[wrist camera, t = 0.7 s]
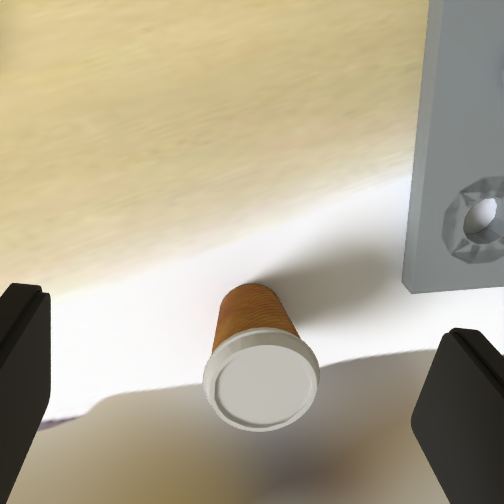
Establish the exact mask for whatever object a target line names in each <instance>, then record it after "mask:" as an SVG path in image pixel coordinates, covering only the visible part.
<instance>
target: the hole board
mask: <svg viewBox="0 0 504 504" xmlns="http://www.w3.org/2000/svg"><path fill="white" fill-rule="evenodd" d="M503 66H504V0H430V3H429V13H428V23H427V33H426V43H425V53H424V63H423V73H422V83H421V93H420V103H419V113H418V123H417V133H416V143H415V153H414V163H413V173H412V183H411V193H410V203H409V213H408V223H407V233H406V243H405V253H404V263H403V273H402V283H403V284H404V285H405V287H406V288H407V289H408V290H409V292H410V293H411V294H416V293H429V292H441V291H454V290H466V289H478V288H491V287H503V286H504V85H503V82H502V69H503ZM487 198H494V199H495V201H496V203H497V209H496V215H495V218H494V219H493V220H492V222H491V223H490V225H489V226H488V227H487V228H485V229H484V230H482V231H480V232H478V233H477V234H466V235H465V233H464V231H463V226H464V219H465V216H466V215H467V213H468V212H469V211H470V209H471V208H472V206H473V205H475V204H477V203H479V202H480V201H482V200H484V199H487Z"/></svg>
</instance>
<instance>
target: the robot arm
mask: <svg viewBox="0 0 504 504" xmlns="http://www.w3.org/2000/svg"><path fill="white" fill-rule="evenodd" d="M50 392H51V299H50V294H49V293H43V292H42V288H41V286H39V285H29V284H20V283H12V284H11V285H10V286H9V287H8V288H7V289H6V291H5V292H4V293H3V295H2V296H1V297H0V504H6V502H7V500H8V497H9V495H10V493H11V490H12V488H13V486H14V483H15V481H16V479H17V476H18V474H19V472H20V469H21V467H22V465H23V462H24V460H25V458H26V455H27V453H28V451H29V448H30V446H31V444H32V441H33V439H34V437H35V434H36V432H37V430H38V427H39V425H40V423H41V420H42V418H43V415H44V413H45V411H46V408H47V406H48V403H49V398H50ZM411 427H412V430H413V433H414V434H415V436H416V438H417V440H418V442H419V444H420V446H421V448H422V450H423V452H424V454H425V456H426V458H427V460H428V461H429V463H430V465H431V467H432V469H433V471H434V473H435V475H436V477H437V479H438V481H439V483H440V485H441V487H442V489H443V490H444V493H445V494H446V496H447V498H448V500H449V502H450V504H504V357H503V356H502V355H501V354H500V353H499V352H498V351H497V350H496V348H495V347H494V346H493V345H492V344H491V343H490V342H489V341H488V340H487V339H486V338H485V336H484V335H483V334H482V333H481V332H480V331H478V330H473V329H463V328H453V329H451V330H450V331H449V333H445V334H444V335H443V337H442V339H441V342H440V344H439V347H438V349H437V352H436V354H435V357H434V360H433V362H432V365H431V367H430V370H429V372H428V375H427V378H426V380H425V383H424V385H423V388H422V390H421V393H420V396H419V398H418V401H417V403H416V406H415V408H414V411H413V414H412V417H411Z"/></svg>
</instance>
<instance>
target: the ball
mask: <svg viewBox="0 0 504 504" xmlns="http://www.w3.org/2000/svg"><path fill="white" fill-rule="evenodd" d="M502 82H503V85H504V66H503V69H502Z"/></svg>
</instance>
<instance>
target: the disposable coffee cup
mask: <svg viewBox="0 0 504 504" xmlns="http://www.w3.org/2000/svg"><path fill="white" fill-rule="evenodd" d="M319 377H320V370H319V364H318V361H317V358H316V356H315V355H314V353H313V351H312V350H311V348H310V347H309V346H308V345H307V344H306V343H305V342H304V341H302V340H301V338H300V336H299V335H298V332H297V331H296V329H295V328H294V325H293V324H292V322H291V320H290V318H289V317H288V315H287V313H286V311H285V309H284V308H283V306H282V304H281V302H280V300H279V298H278V297H277V295H276V294H275V293H274V292H273V291H272V290H270V289H269V288H267V287H265V286H262V285H258V284H246V285H242V286H239V287H236V288H235V289H233V290H232V291H230V292H229V293H228V294H227V295H226V296H225V297H224V299H223V301H222V303H221V306H220V311H219V317H218V322H217V327H216V333H215V338H214V343H213V349H212V354H211V356H210V358H209V360H208V362H207V364H206V366H205V369H204V374H203V388H204V393H205V395H206V397H207V400H208V401H209V403H210V404H211V405H212V407H213V408H214V410H215V411H216V413H217V415H218V416H220V417H221V418H222V419H223V420H224V421H225V422H226V423H228V424H230V425H232V426H235V427H237V428H239V429H243V430H248V431H254V432H258V431H270V430H275V429H278V428H281V427H283V426H286V425H288V424H291V423H292V422H294V421H295V420H297V419H298V418H300V417H301V416H302V415H303V414H304V413H305V412H306V411H307V410H308V408H309V407H310V406H311V404H312V402H313V400H314V398H315V394H316V390H317V387H318V383H319Z"/></svg>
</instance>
